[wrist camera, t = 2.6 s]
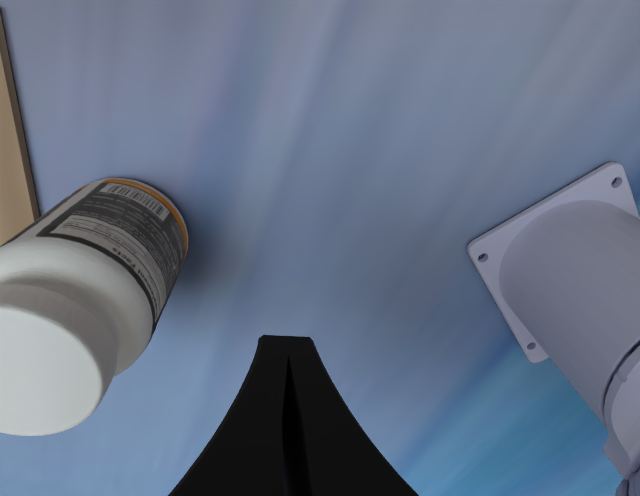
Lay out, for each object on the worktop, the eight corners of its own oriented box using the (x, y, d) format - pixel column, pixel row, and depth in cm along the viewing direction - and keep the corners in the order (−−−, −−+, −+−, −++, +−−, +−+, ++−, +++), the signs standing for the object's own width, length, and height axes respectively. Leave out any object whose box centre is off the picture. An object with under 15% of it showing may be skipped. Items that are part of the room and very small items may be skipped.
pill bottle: (111, 296, 22) (-7, 472, 13) (41, 198, 20) (-162, 335, 11) (212, 259, 22) (159, 417, 13) (153, 153, 19) (35, 258, 10)
